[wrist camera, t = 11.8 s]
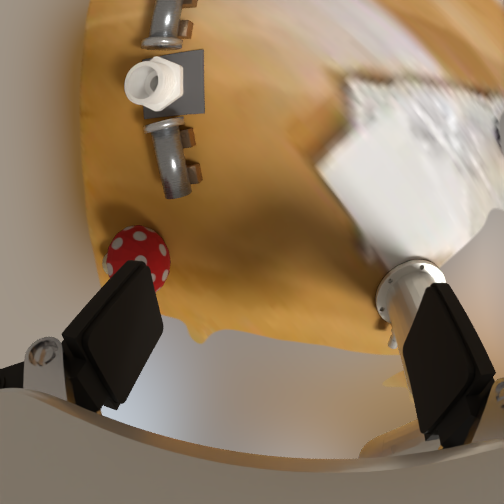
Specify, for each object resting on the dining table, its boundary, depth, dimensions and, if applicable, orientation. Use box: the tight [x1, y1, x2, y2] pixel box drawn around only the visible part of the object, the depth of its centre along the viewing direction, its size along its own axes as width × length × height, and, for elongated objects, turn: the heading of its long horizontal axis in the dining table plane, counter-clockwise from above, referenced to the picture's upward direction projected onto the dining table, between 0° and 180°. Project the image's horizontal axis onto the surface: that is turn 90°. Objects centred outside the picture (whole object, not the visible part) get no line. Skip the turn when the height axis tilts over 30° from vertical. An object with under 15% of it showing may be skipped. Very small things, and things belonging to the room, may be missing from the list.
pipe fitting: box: [124, 56, 183, 111], centre depth 29 cm, size 6×7×8 cm
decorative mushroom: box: [102, 225, 170, 293], centre depth 43 cm, size 11×11×15 cm
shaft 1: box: [141, 0, 198, 50], centre depth 26 cm, size 10×5×6 cm, turn 172°
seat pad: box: [142, 50, 205, 119], centre depth 33 cm, size 9×9×1 cm
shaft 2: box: [143, 117, 203, 199], centre depth 35 cm, size 10×5×6 cm, turn 8°
